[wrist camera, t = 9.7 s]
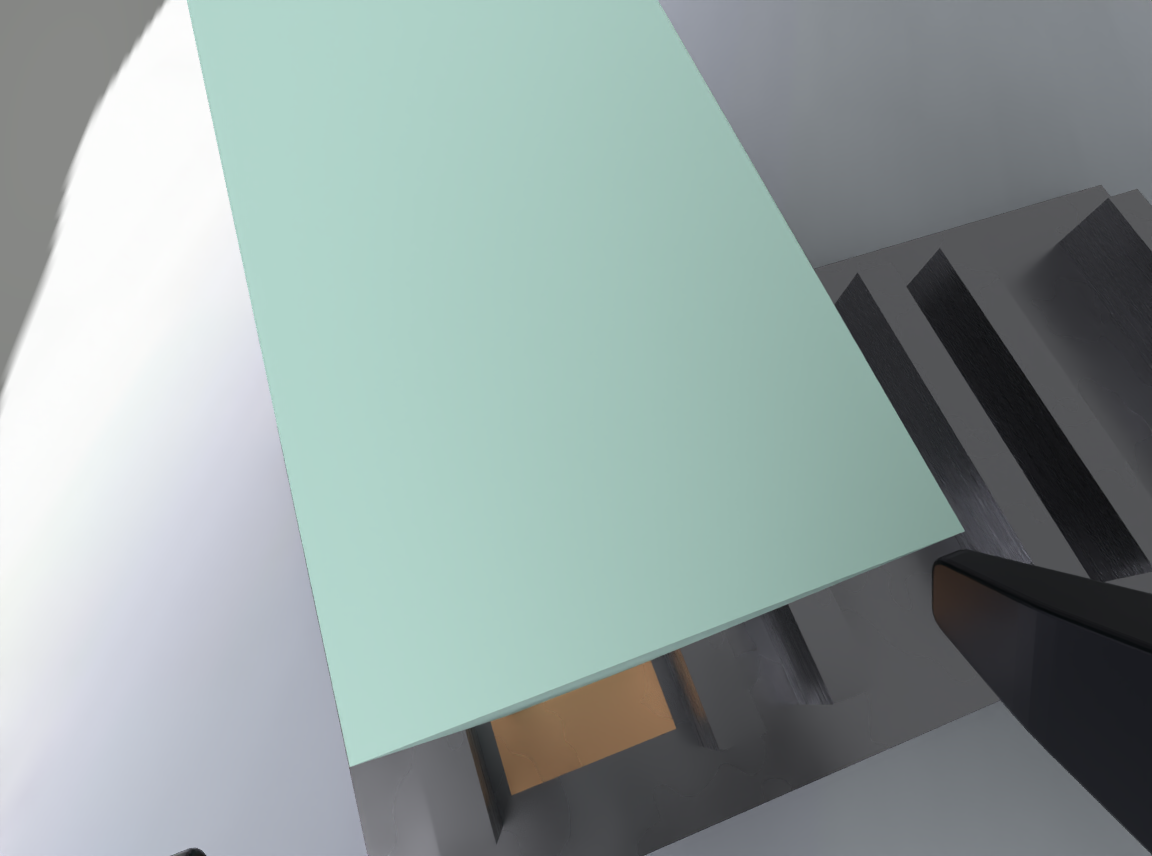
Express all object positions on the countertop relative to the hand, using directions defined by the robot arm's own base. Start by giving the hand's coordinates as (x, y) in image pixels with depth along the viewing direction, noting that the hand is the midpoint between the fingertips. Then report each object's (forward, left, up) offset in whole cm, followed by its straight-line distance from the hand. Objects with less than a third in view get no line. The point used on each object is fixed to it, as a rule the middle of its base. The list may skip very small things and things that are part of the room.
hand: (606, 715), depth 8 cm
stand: (+5, -7, -9) cm, 12 cm away
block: (+3, +1, -8) cm, 8 cm away
